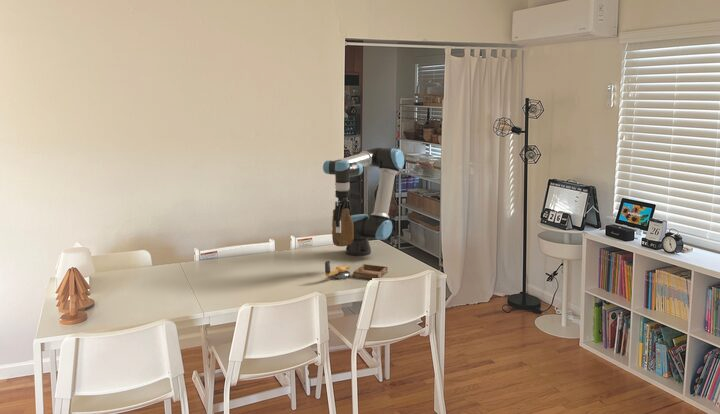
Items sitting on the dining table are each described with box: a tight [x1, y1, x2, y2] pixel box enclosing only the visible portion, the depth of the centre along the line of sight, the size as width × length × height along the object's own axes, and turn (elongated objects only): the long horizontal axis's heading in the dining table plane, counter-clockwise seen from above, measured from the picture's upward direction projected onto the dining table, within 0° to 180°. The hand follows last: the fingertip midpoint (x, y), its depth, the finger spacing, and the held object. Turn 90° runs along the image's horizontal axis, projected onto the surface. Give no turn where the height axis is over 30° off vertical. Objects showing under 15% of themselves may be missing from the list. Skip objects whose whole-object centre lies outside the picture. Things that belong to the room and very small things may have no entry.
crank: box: [324, 260, 351, 277], centre depth 324 cm, size 17×5×8 cm, turn 140°
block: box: [331, 208, 354, 247], centre depth 333 cm, size 11×8×20 cm
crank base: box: [330, 270, 351, 280], centre depth 327 cm, size 10×10×3 cm
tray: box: [352, 263, 388, 280], centre depth 330 cm, size 15×14×3 cm
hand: (342, 230), depth 333 cm, fingers closed on block, 11 cm apart
